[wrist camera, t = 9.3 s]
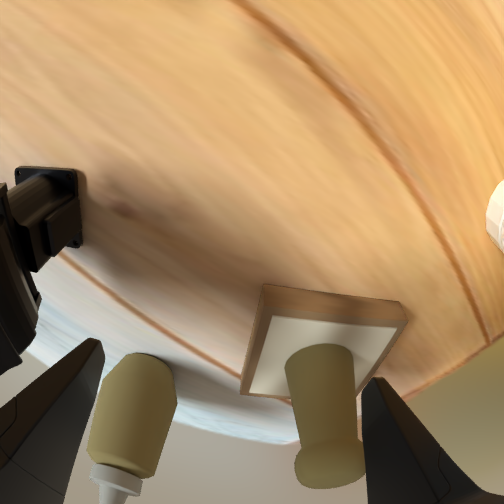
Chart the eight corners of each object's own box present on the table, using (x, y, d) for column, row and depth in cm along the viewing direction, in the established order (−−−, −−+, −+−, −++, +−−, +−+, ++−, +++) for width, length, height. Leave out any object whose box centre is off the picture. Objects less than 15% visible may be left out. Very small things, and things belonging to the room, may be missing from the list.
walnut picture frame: (241, 374, 29) (239, 395, 27) (263, 283, 23) (263, 306, 21) (349, 382, 30) (353, 402, 28) (398, 301, 24) (408, 322, 22)
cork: (356, 375, 25) (378, 483, 16) (293, 390, 26) (299, 498, 17) (349, 335, 22) (378, 464, 13) (275, 353, 24) (278, 483, 14)
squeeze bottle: (170, 396, 33) (143, 533, 17) (108, 370, 31) (62, 505, 15) (194, 365, 29) (165, 537, 14) (120, 333, 27) (59, 502, 12)
